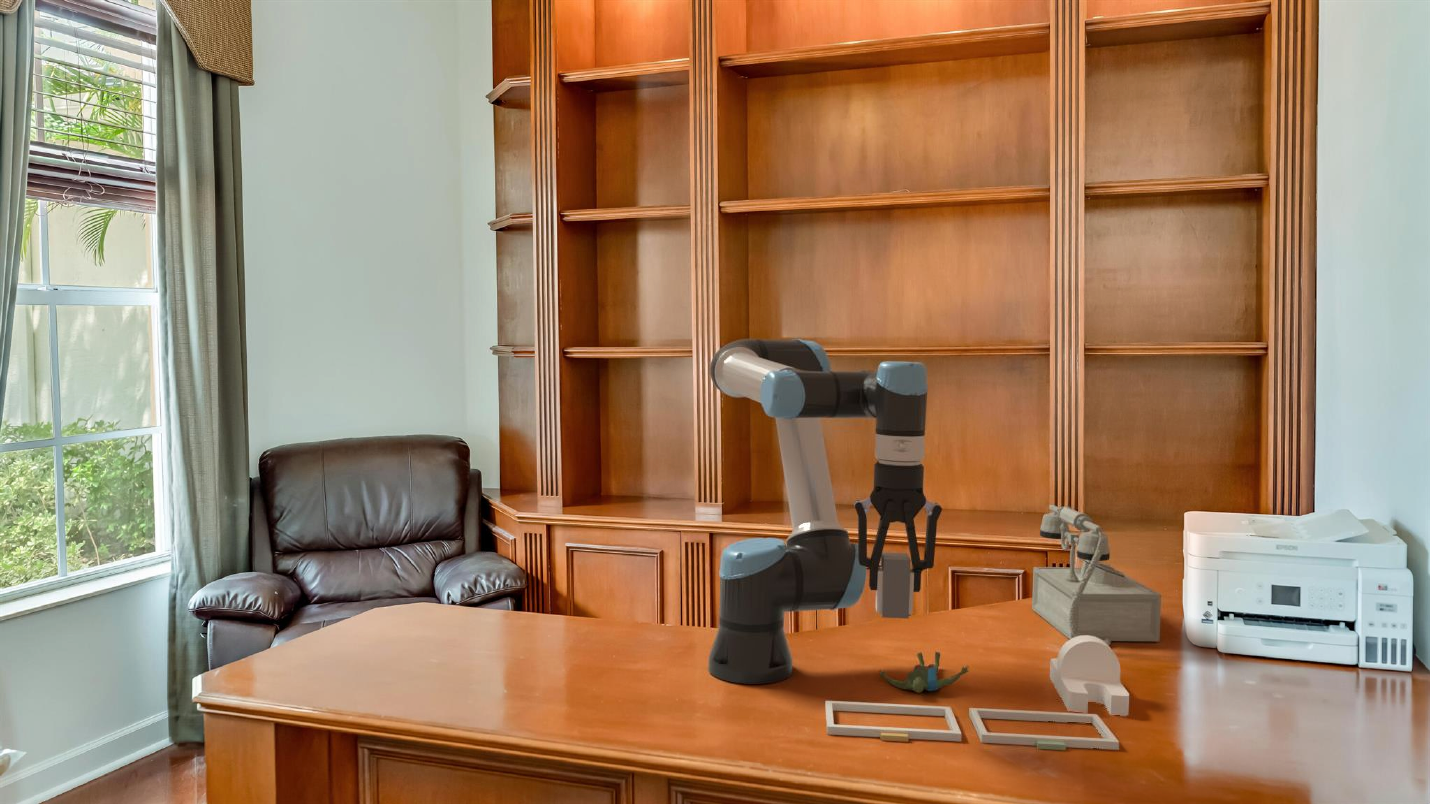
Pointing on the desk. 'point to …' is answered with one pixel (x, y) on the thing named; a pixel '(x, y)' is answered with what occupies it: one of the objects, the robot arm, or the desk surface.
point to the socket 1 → (890, 732)
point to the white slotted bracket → (1089, 676)
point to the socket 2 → (1042, 740)
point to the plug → (895, 585)
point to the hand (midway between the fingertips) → (893, 611)
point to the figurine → (924, 677)
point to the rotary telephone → (1091, 587)
